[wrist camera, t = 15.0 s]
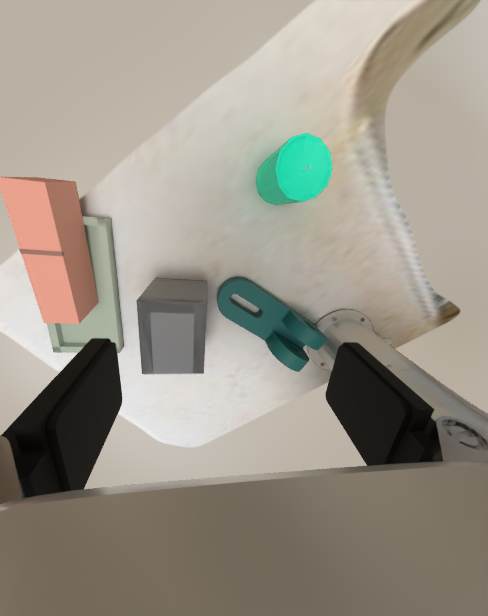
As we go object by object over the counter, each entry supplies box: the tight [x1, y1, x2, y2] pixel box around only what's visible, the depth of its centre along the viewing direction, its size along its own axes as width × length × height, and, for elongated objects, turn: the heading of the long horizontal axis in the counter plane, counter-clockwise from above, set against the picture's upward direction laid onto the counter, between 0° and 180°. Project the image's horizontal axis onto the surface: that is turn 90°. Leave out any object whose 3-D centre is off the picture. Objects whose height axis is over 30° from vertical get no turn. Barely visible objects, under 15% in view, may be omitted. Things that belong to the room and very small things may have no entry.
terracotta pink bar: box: [0, 177, 99, 324], centre depth 29 cm, size 4×16×6 cm, turn 174°
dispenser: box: [137, 278, 207, 375], centre depth 34 cm, size 11×8×10 cm
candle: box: [256, 133, 332, 204], centre depth 28 cm, size 6×6×12 cm
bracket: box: [217, 277, 327, 371], centre depth 37 cm, size 18×7×8 cm, turn 54°
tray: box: [47, 216, 124, 353], centre depth 34 cm, size 9×20×2 cm, turn 174°
